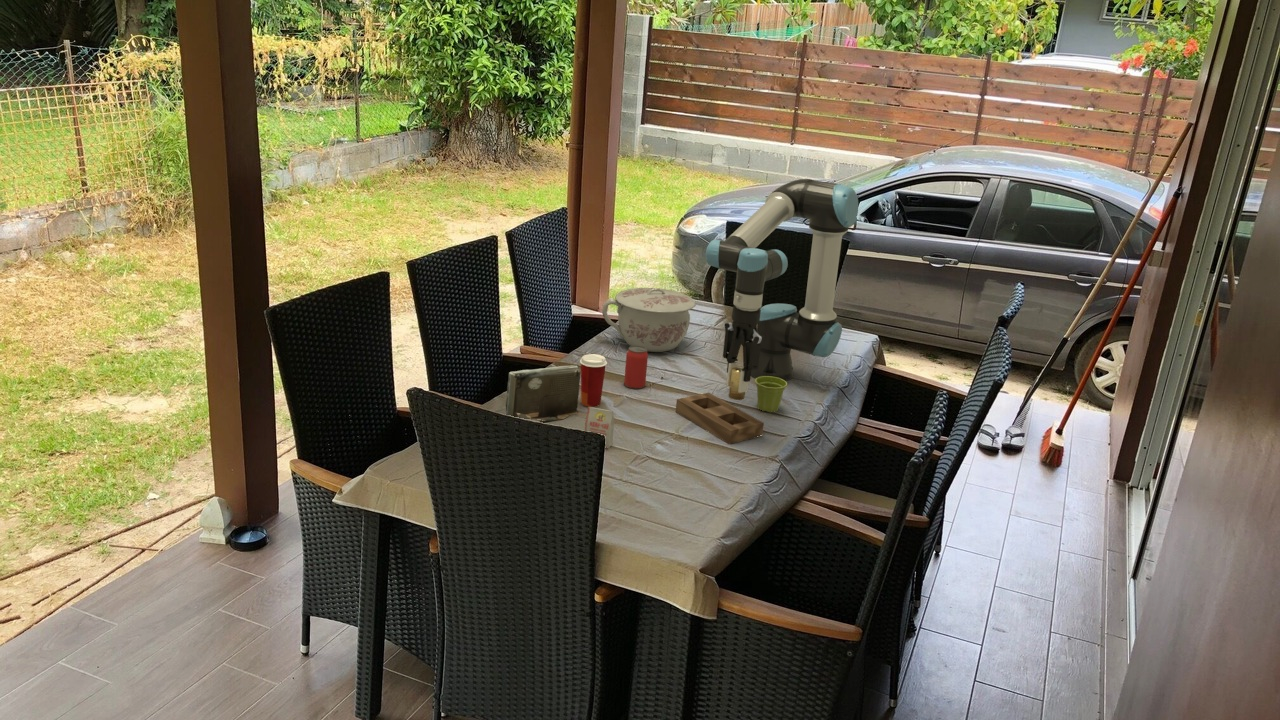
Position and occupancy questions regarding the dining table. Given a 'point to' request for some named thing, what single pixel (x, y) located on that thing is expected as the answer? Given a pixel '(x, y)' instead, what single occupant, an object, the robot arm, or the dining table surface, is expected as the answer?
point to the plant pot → (769, 392)
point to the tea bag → (600, 423)
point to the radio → (543, 393)
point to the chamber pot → (651, 317)
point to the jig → (719, 418)
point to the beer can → (636, 367)
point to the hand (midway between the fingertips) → (736, 388)
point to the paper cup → (592, 379)
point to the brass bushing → (735, 384)
